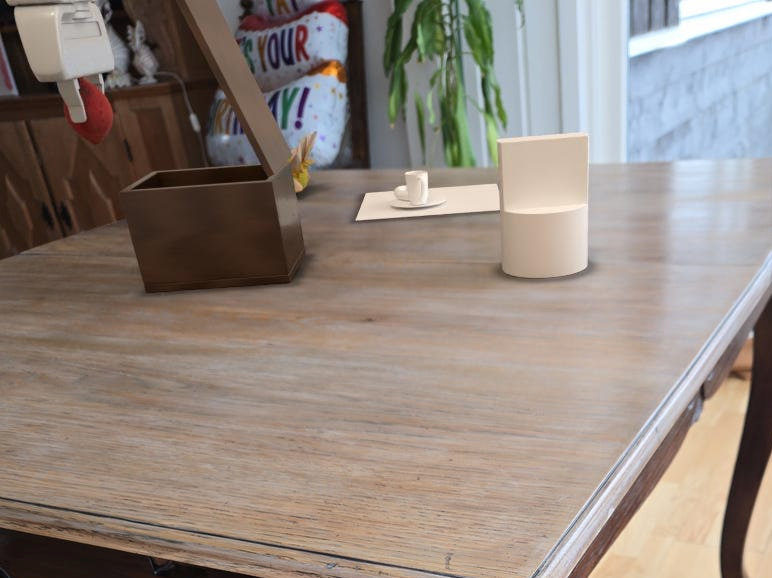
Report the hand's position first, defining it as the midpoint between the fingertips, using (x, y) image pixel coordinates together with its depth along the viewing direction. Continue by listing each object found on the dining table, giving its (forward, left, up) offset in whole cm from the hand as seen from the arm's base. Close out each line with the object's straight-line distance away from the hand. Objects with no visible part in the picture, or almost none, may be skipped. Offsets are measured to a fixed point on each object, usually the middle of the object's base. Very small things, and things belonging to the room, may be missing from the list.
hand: (90, 119), depth 114 cm
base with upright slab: (+55, -34, -14) cm, 66 cm away
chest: (+20, -27, -14) cm, 36 cm away
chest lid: (+25, -27, +4) cm, 37 cm away
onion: (0, 0, -3) cm, 3 cm away
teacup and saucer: (+42, +7, -14) cm, 45 cm away
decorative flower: (+19, +22, -14) cm, 33 cm away
